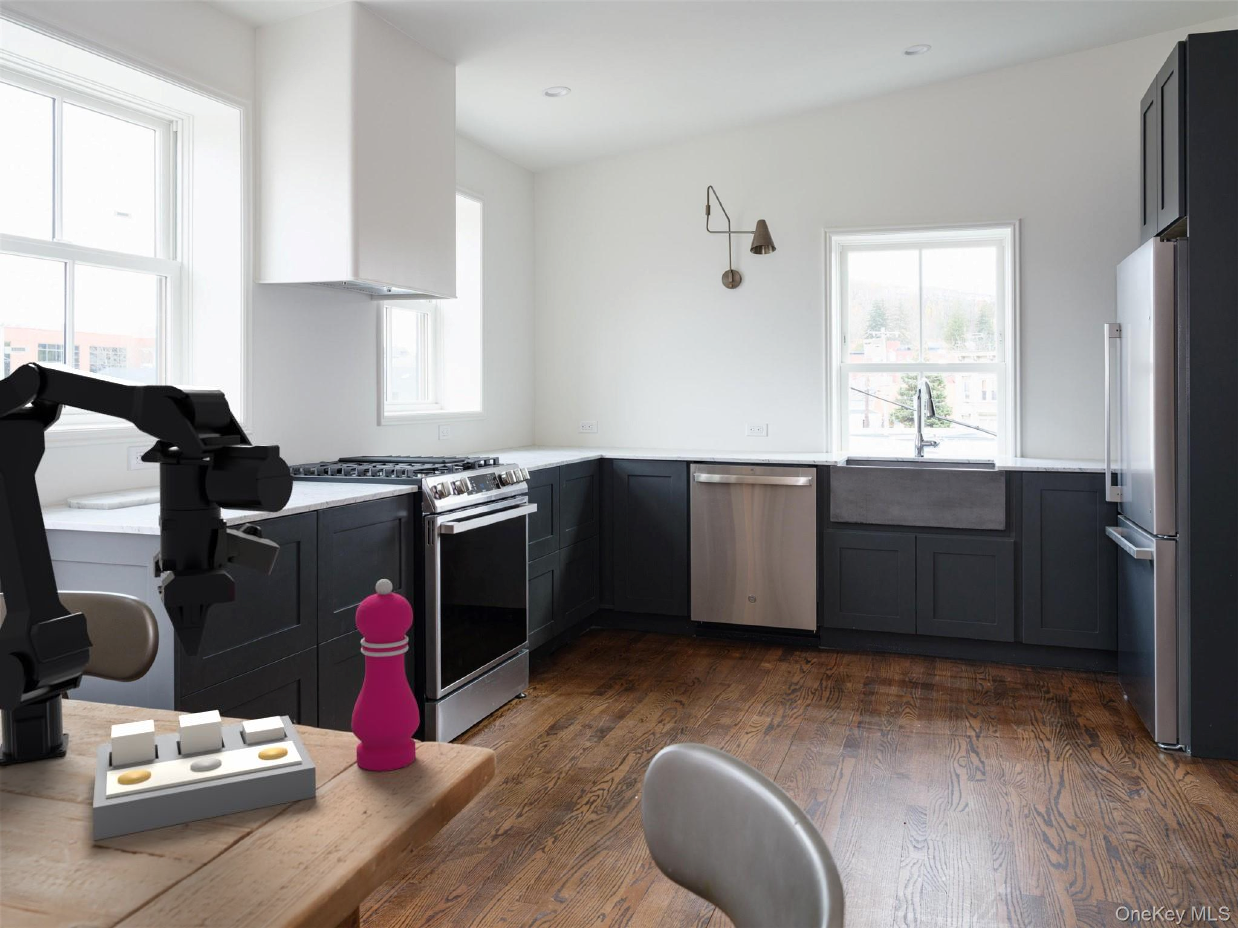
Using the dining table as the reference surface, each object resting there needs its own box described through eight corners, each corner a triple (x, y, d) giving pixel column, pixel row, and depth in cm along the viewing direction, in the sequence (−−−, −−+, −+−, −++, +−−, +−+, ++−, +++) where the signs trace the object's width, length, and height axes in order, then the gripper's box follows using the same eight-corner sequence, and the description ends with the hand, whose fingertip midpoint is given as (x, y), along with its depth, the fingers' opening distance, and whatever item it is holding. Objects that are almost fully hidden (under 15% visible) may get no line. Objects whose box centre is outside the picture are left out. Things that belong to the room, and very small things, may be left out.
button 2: (242, 750, 99) (242, 721, 99) (279, 743, 101) (278, 715, 100) (247, 762, 95) (246, 732, 95) (284, 755, 97) (284, 726, 97)
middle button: (179, 745, 96) (178, 715, 96) (218, 738, 98) (217, 710, 97) (181, 757, 92) (180, 726, 92) (221, 750, 94) (221, 720, 94)
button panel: (98, 772, 95) (97, 739, 95) (288, 740, 104) (287, 711, 104) (94, 840, 80) (92, 802, 80) (315, 796, 89) (315, 762, 89)
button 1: (112, 755, 93) (111, 725, 93) (154, 749, 95) (153, 719, 94) (112, 768, 89) (111, 737, 89) (155, 761, 91) (154, 730, 91)
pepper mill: (402, 775, 94) (400, 587, 93) (339, 770, 96) (336, 584, 94) (430, 750, 101) (428, 574, 100) (371, 745, 103) (368, 571, 102)
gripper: (289, 514, 89) (289, 669, 90) (259, 495, 105) (259, 627, 106) (163, 519, 84) (165, 684, 85) (152, 498, 100) (153, 637, 101)
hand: (192, 655), depth 94 cm, fingers closed
